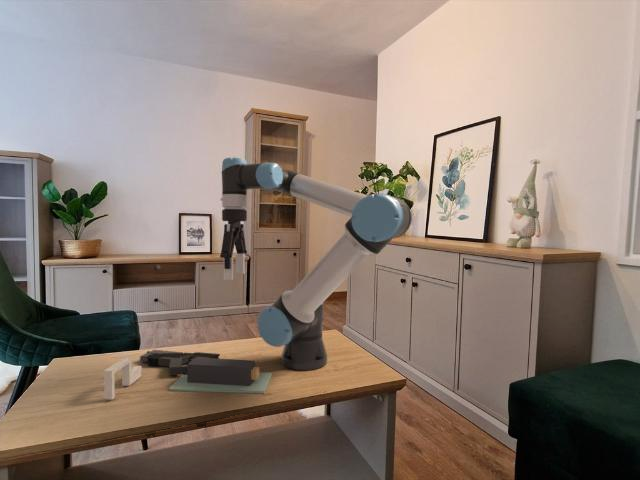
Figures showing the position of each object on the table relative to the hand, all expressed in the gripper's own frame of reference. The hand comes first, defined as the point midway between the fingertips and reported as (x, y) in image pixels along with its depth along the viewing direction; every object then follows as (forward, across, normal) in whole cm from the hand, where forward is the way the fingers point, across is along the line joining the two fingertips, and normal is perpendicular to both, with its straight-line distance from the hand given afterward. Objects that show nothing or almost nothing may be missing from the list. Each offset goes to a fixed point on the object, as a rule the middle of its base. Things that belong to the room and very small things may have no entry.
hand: (234, 276), depth 114 cm
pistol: (+28, +2, -19) cm, 34 cm away
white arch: (+28, +17, -26) cm, 42 cm away
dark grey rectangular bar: (+28, +12, 0) cm, 31 cm away
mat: (+29, +12, 0) cm, 31 cm away
